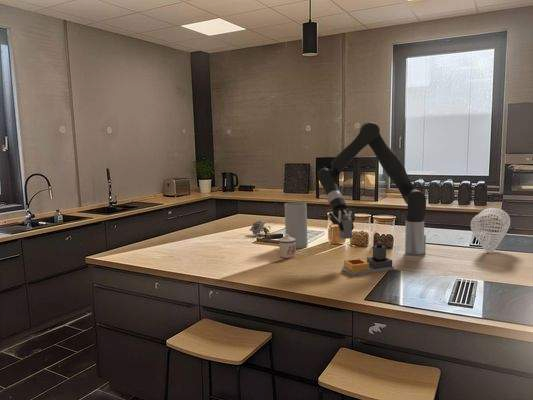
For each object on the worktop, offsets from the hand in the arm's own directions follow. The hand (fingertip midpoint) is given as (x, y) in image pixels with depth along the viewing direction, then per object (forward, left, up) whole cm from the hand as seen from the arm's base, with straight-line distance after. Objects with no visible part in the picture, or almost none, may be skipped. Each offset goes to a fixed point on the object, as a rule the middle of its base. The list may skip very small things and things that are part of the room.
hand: (347, 229), depth 200 cm
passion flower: (+22, -84, -18) cm, 88 cm away
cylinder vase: (+10, -46, -18) cm, 50 cm away
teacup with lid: (+20, -30, -18) cm, 40 cm away
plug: (0, -2, -4) cm, 5 cm away
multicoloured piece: (-6, +8, -18) cm, 21 cm away
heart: (-75, +8, -18) cm, 78 cm away
